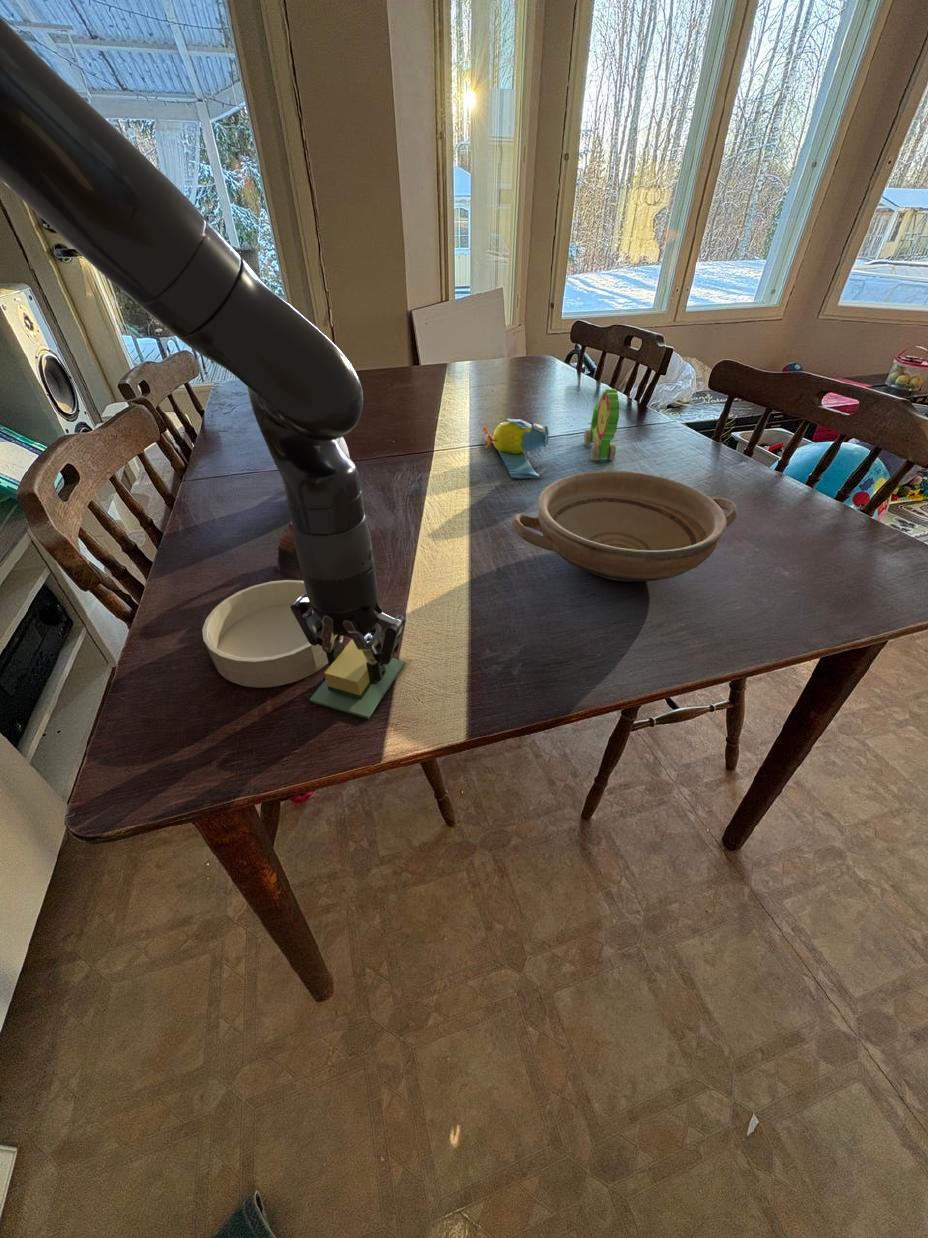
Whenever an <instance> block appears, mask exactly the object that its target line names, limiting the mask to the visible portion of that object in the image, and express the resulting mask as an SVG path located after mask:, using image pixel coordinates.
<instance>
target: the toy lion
mask: <svg viewBox="0 0 928 1238" xmlns="http://www.w3.org/2000/svg"><path fill="white" fill-rule="evenodd" d="M593 407H594V408H593V410H592V416H591V422H590V428H589V429H585V431H584V434H583V444H584V446H590V445H591V444H592V446H591V447H590V448H591V449H590V458H591V461H598V460H599V459H607V461H614V460H615V458H616V453H617V449H616V448H617V447H616V444H615V443H611V441H612V440H613V439H614V437H615V434H616V432H617V429H618V423H619V417H620V401H619V394H618V392H617V389H616V388H605V390H603V391H602V393H601V396H600V397H599V400H598V401H597V402H596V403H595V405H594V406H593Z"/></svg>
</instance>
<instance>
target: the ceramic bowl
mask: <svg viewBox="0 0 928 1238" xmlns="http://www.w3.org/2000/svg"><path fill="white" fill-rule="evenodd" d="M537 509H538V516H536V517H535V516H529V515H525V514H521V513H519V514H515V515H514V516H513V517H512V520H511V526H512V528H513V530H514V532H515V533H516V534H517V535H518V536H519V537H520V538H521V539H522V540H523V541H525V542H527V543H529V544H531V545H533V546H535V547H537V548H541V549H544V550H547V551H551V552H552V553H553V552H554V553H556V554H557V556H560V558H562V559H563V560H565V561H566V562H568V563H569V564H571V565H572V566H574V567H576V568H578V569H581V570H582V571H584V572H587V573H590V574H593V575H595V576H598V577H601V578H603V579H606V580H611V581H616V582H617V581H618V582H653V581H660V580H666V579H671V578H674V577H678V576H680V575H683V574H685V573H687V572H689V571H691V570H694V569H695V568H697V567H698V566H701V564H703V563H704V562H705V561H706V560H708V558H709V557H711V555H712V554H713V553H714V551H715V549H716V548H717V546H718V545H719V543H720V541H721V538H722V537H723V535H724V534H725V532H726V529H727V528H728V527H729V526H731V525H732V524H733V523H734V522H735V521H736V519H737V518H738V516H739V515H738V514H739V511H738V508H737V506H736V504H735V503H734V501H732V500H730V499H727V498H724V497H714V498H711V497H709V496H708V495H707V494H705V493H704V492H703V491H700V490H698V489H696V488H694V487H693V486H690V485H688V484H686V483H685V484H684V483H683V482H680V481H676V480H674V479H671V478H667V477H663V476H659V475H655V474H651V473H650V474H649V473H644V472H639V471H638V472H637V471H626V470H596V471H586V472H580V473H576V474H571V475H568V476H565V477H561V478H559V479H557V480H555V481H553V482H552V483H550V484H548V485H547V486H546V487H545V488H544V489H543V490H542V491H541V493H540V494H539V496H538V499H537ZM723 510H725V511H727V512H728V514H725V512H724V511H723ZM530 529H532V530H534V531H538V532H540V533H541V534H542V535H541V534H539V533H536V532H534V531H532V530H530Z"/></svg>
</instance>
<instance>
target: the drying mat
mask: <svg viewBox="0 0 928 1238" xmlns="http://www.w3.org/2000/svg"><path fill="white" fill-rule="evenodd" d="M405 664H406V661H405V660H402V659H398V658H394V657H393V658H392V659H391V661H390V663H389V664H387V665H385V668H386V673H385V675H384V676H383V678H382V679H381V681H380V682H378V683H377V684H376V685H374V684H372V685H371V686H370V688H369V689H368V691H367V692H366V694H365V695H364V697H363V698H362V699H361V700H359V699H356V698H352V697H349V696H345V695H342V694H338V693H335V692H332V691H328V687H327V683H326V678H325V680H324V681H323V682H322V683H321V684H320V685H319V687H318V688H317V689H316V691H315V692H314V693H313V694H312V695H311V697H310V698H309V702H310V703H313V704H317V705H319V706H324V707H327V708H331V709H334V710H337V711H341V712H344V713H347V714H351V715H354V716H358V717H361V718H364V719H368V720H369V719H370V717H372V715H373V713H374V711H375V710H376V708H377V707H378V706H379V704H380V702H381V700H382V699H383V698H384V697H385V695H386V694H387V692H388V690H389V689H390V687H391V686H392V684H393V683H394V681H395V680H396V678H397V676H398V675H399V673H400V672H401V670H402V669H403V667H404V666H405Z"/></svg>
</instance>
